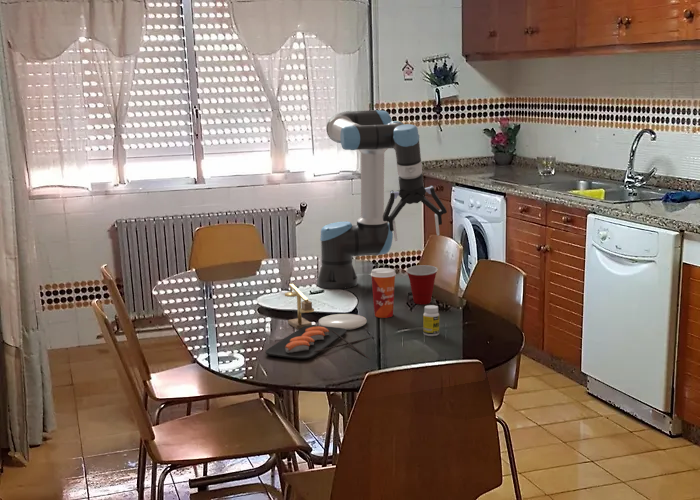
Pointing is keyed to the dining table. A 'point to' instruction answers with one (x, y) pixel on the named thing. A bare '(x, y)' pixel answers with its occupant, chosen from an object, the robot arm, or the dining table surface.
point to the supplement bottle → (431, 321)
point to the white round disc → (343, 321)
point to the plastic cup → (422, 282)
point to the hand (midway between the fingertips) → (416, 236)
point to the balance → (305, 308)
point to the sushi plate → (309, 342)
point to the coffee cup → (383, 291)
